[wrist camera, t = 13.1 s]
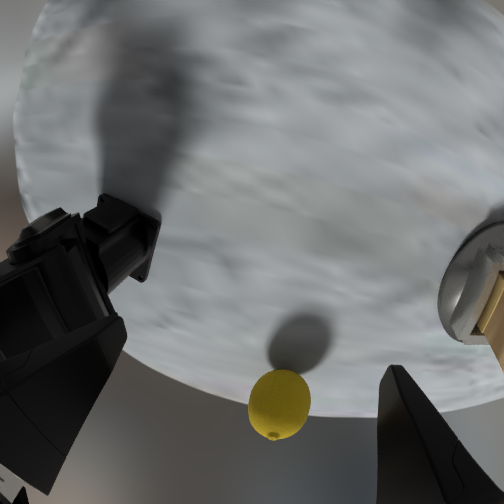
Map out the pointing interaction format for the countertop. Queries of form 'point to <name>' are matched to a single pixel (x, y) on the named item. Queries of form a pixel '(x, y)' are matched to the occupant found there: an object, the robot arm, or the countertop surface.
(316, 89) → the countertop surface
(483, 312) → the block
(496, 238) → the grey round socket base
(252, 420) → the lemon
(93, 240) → the robot arm
